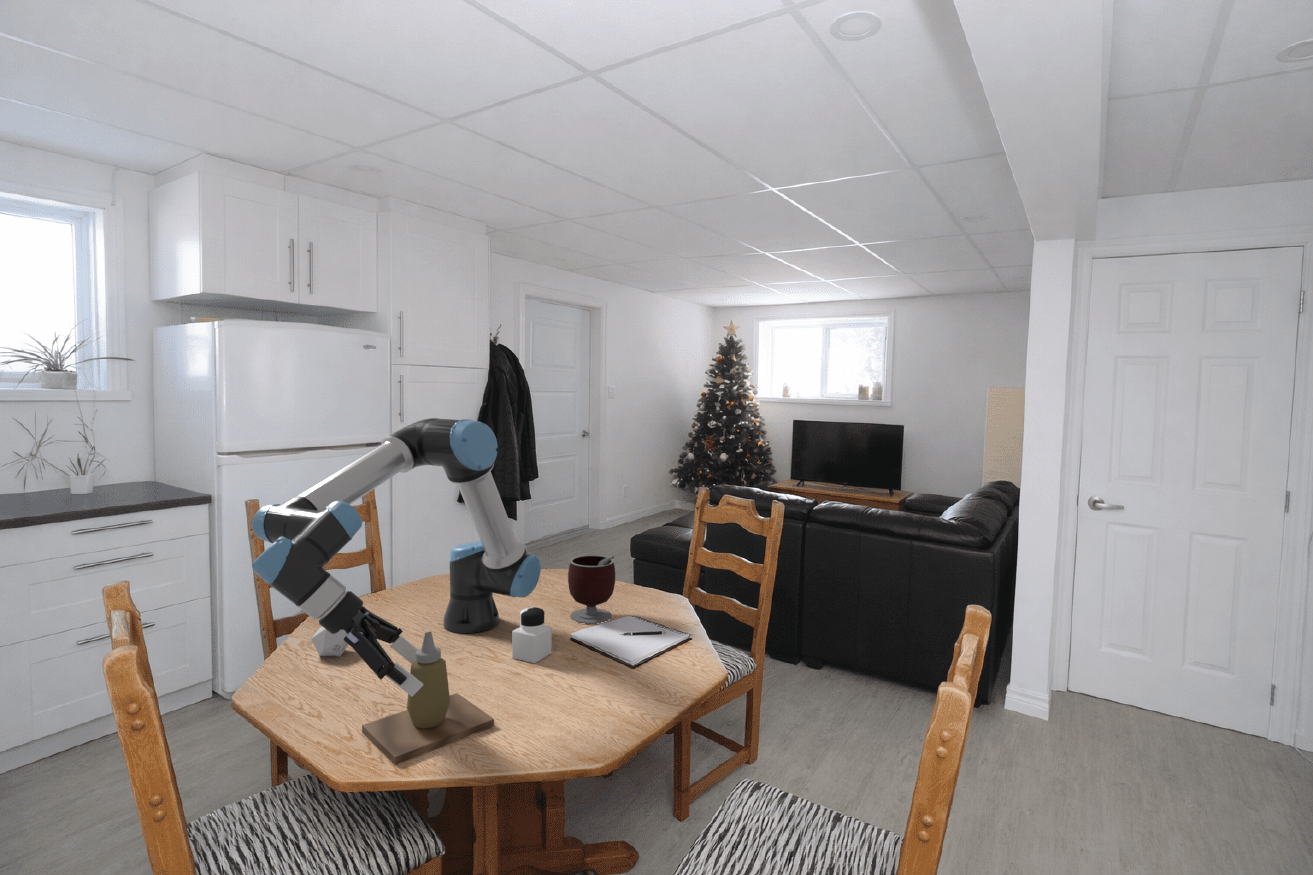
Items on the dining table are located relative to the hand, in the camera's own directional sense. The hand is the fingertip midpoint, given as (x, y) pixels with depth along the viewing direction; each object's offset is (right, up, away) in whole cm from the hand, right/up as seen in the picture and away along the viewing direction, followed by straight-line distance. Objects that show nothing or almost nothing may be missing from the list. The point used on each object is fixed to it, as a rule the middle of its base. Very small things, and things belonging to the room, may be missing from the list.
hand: (419, 674), depth 127 cm
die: (-35, -8, +36) cm, 51 cm away
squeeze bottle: (+1, -10, +2) cm, 10 cm away
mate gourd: (+27, -7, +66) cm, 72 cm away
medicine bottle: (+15, -9, +38) cm, 42 cm away
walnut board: (+1, -11, +2) cm, 12 cm away
